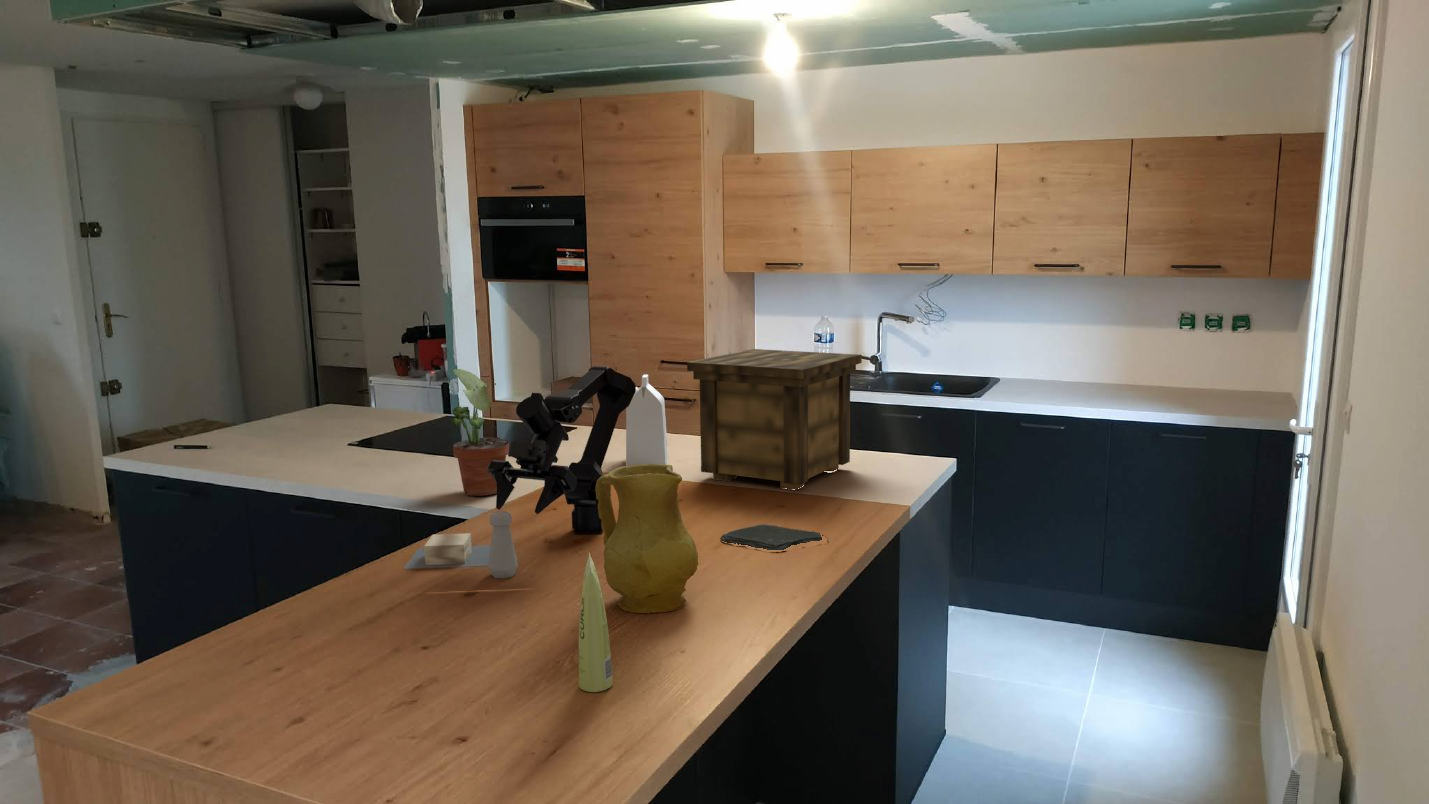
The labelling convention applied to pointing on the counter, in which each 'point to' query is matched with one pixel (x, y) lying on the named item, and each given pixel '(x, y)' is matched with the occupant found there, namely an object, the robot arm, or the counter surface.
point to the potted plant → (476, 440)
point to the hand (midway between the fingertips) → (516, 510)
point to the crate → (774, 414)
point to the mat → (476, 558)
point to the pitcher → (645, 538)
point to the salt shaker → (502, 546)
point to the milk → (646, 427)
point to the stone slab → (770, 537)
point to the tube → (593, 636)
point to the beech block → (448, 549)
